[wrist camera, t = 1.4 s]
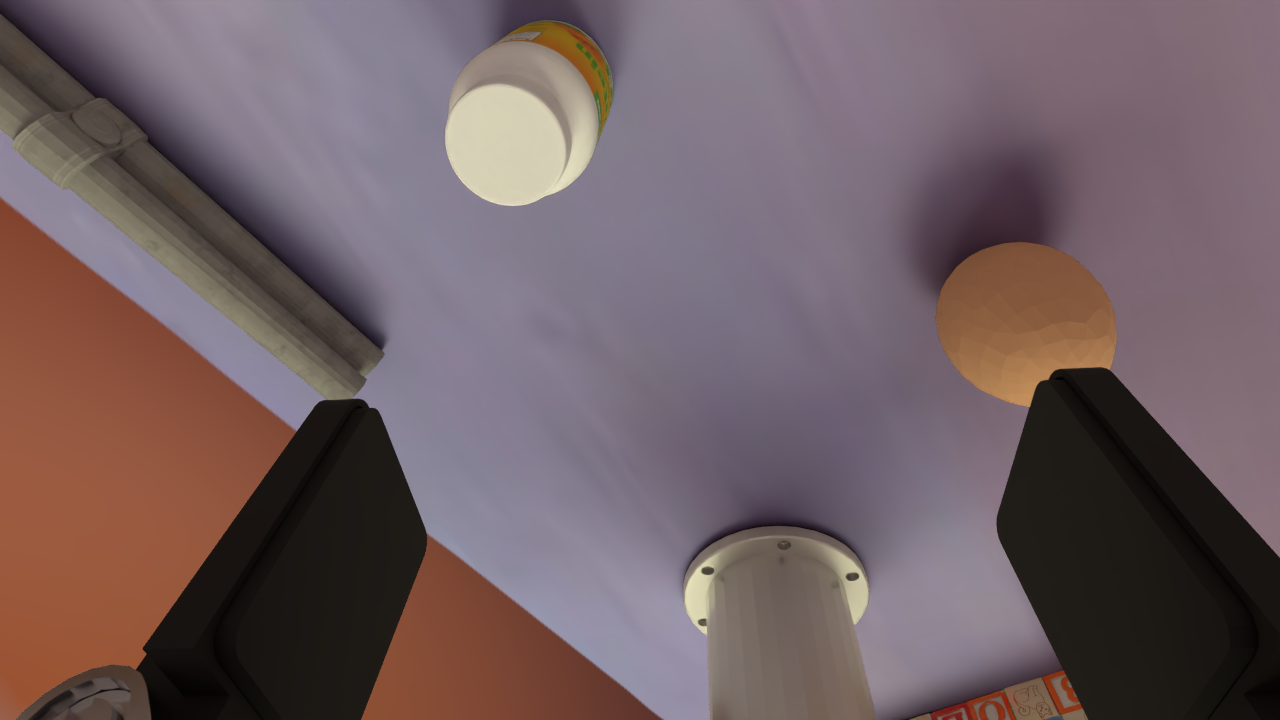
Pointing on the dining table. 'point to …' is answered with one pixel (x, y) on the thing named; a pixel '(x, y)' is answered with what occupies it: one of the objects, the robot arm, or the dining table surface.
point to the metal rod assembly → (173, 218)
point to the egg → (1023, 319)
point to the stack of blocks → (1020, 703)
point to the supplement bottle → (528, 113)
